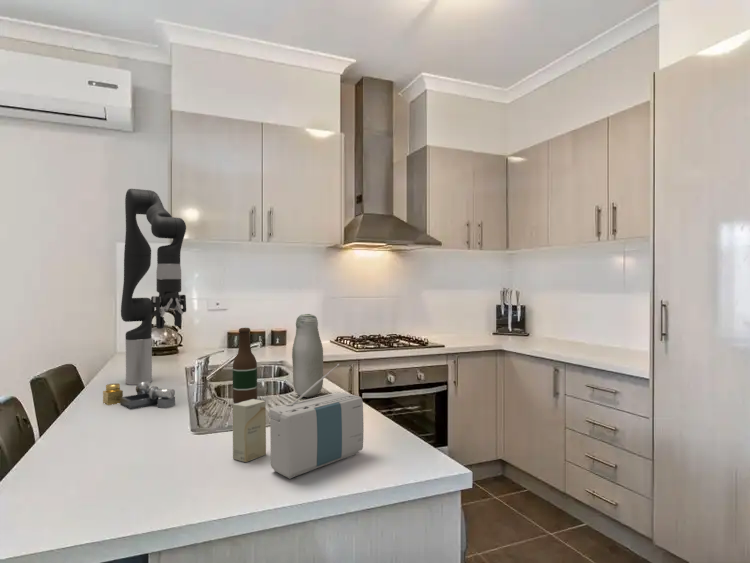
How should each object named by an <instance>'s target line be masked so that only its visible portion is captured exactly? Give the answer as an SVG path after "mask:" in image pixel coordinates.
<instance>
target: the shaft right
mask: <svg viewBox="0 0 750 563" xmlns="http://www.w3.org/2000/svg"><path fill="white" fill-rule="evenodd" d="M149 389H150V390H149V398H150V399H156V398H159V399H158V405H157V409H158V408H159V409H167V408H171V407H173V406H175V405H176V396H175V395H176V394H175V393H176V392H175V389H173V388H159V387H158V386H154V385H153V386H150V387H149Z"/></svg>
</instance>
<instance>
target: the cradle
mask: <svg viewBox="0 0 750 563" xmlns="http://www.w3.org/2000/svg"><path fill="white" fill-rule="evenodd" d="M158 399H160V398H156V399H150V398H149V393H144V394H137V393H136V394H132V395H126V396H123V397H120V403H119V404H120V406H122V407H124V408H126V409H128V410H130V411H131V410H136V409H141V407H142V408H145V407H147V408H148V407H150V406H151V407H152V406H156V405H157V404H158ZM157 406H158V405H157Z"/></svg>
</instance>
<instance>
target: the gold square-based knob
mask: <svg viewBox="0 0 750 563" xmlns="http://www.w3.org/2000/svg"><path fill="white" fill-rule="evenodd" d="M120 397H124V391H123V390H122V389H121V384H120V383H116V382H115V383H107V384H106V385H105V390H103V391H102V403H103V404H104V403H105V404H104V405H106V406H112V404H113V405H118V404H117V403H119V404H120Z"/></svg>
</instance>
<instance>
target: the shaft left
mask: <svg viewBox="0 0 750 563" xmlns="http://www.w3.org/2000/svg"><path fill="white" fill-rule="evenodd" d="M151 384H152V383H151V382H149V381H147V380H146V381H143V382H141V383H139V384H136V387H135V392H136V395H137V394H144V393H149V390H150V388H151Z"/></svg>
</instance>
